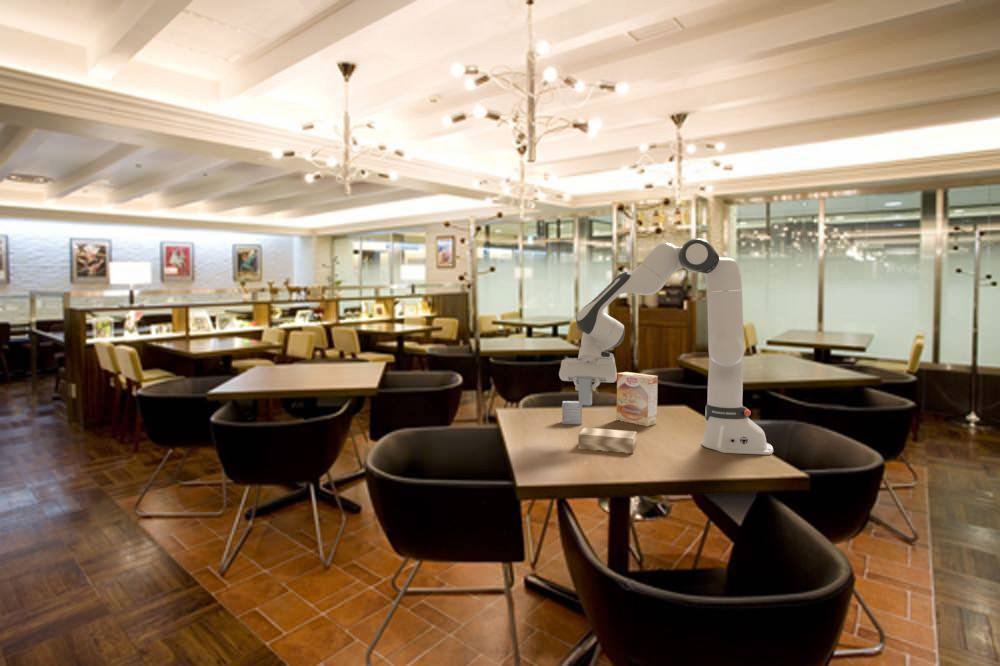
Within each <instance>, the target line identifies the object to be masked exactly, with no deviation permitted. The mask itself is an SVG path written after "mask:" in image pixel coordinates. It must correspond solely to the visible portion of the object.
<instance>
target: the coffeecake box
mask: <svg viewBox="0 0 1000 666" xmlns="http://www.w3.org/2000/svg"><path fill="white" fill-rule="evenodd" d="M658 380H659V376H658V375H654V374H653V375H652V374H645V373H640V372H639V373H637V372H629V371H624V372H617V380H616V415H615V416H616V419H617V420H616V421H618V420H620V421H619V422H623V421H624V423H628V422H629V424H633V423H634V425H638V424H639V426H643V425H644V427H651V426H654V425H657V424H658V417H657V416H658V384H659V383H658ZM650 425H651V426H650Z"/></svg>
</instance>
